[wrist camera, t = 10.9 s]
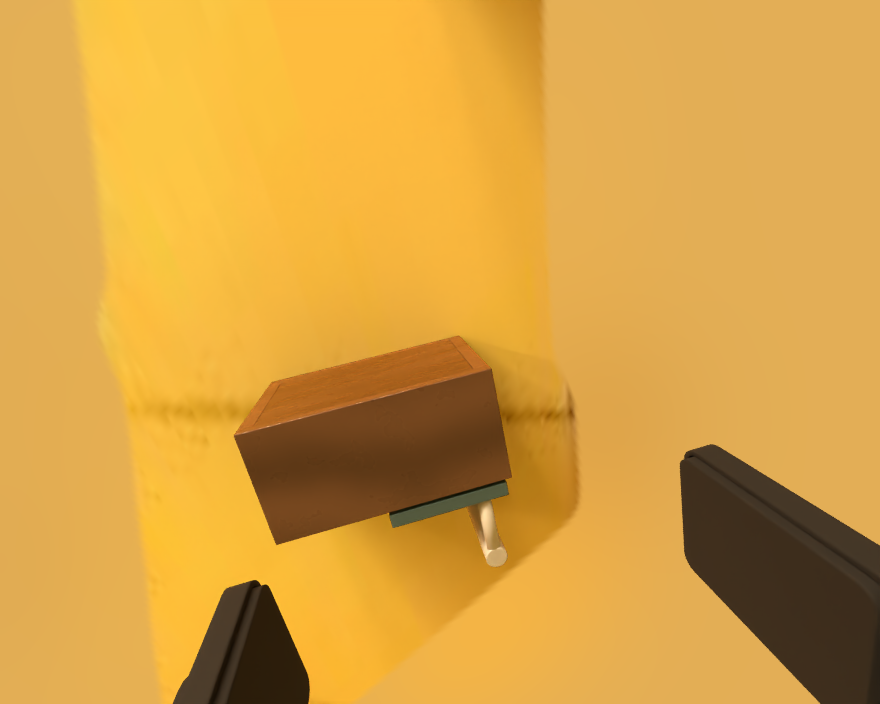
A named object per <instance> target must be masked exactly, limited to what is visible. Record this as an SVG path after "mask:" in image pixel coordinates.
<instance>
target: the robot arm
mask: <svg viewBox="0 0 880 704" xmlns="http://www.w3.org/2000/svg"><path fill="white" fill-rule="evenodd" d="M680 476H681V477H680V478H681V495H682V515H683V534H684V552H685V556H686V559H687V561H688V563H689V565H690V567H691V568H692V569H693V570H694V572H695V573H696V574H697V575H698V576H699V577H700V578H701V579H702V580H703V581H704V582H705V583H706V584H707V585H708V586H709V587H710V588H711V589H712V590H713V591H714V593H715V594H716V595H717V596H718V597H719V598H720V599H721V600H722V601H723V602H724V603H725V604H726V605H727V606H728V607H729V608H730V609H731V610H732V611H733V613H734V614H735V615H736V616H737V617H738V618H739V619H740V620H741V621H742V622H743V623H744V624H745V625H746V626H747V627H748V628H749V629H750V630H751V631H752V632H753V633H754V634H755V636H756V637H758V639H759V640H760V641H761V642H762V643H763V644H764V645H765V646H766V647H767V648H768V649H769V650H770V651H771V652H772V653H773V654H774V655H775V656H776V657H777V658H778V660H780V662H781V663H782V664H783V665H784V666H785V667H786V668H787V669H788V670H789V671H790V672H791V673H792V674H793V675H794V676H795V677H796V678H797V680H799V682H800V683H801V684H802V685H803V686H804V687H805V688H806V689H807V690H808V691H809V692H810V693H811V694H812V695H813V696H814V697H815V698H816V699H817V700H818V701H819V702H820V704H880V546H879V545H878V544H876V543H875V542H873V541H871V540H870V539H868V538H866V537H865V536H863V535H862V534H860V533H858V532H857V531H855V530H853V529H852V528H850V527H849V526H847V525H845V524H844V523H842V522H840V521H839V520H837V519H836V518H834V517H832V516H831V515H829V514H827V513H826V512H824V511H823V510H821V509H819V508H818V507H816V506H814V505H813V504H811V503H809V502H808V501H806V500H805V499H803V498H801V497H800V496H798V495H797V494H795V493H793V492H791V491H790V490H788V489H787V488H785V487H784V486H782V485H780V484H779V483H777V482H775V481H774V480H772V479H770V478H769V477H767V476H766V475H764V474H762V473H761V472H759V471H757V470H756V469H754V468H753V467H751V466H749V465H748V464H746V463H745V462H743V461H741V460H740V459H738V458H736V457H735V456H733V455H731V454H730V453H728V452H727V451H725V450H723V449H722V448H720V447H718V446H716V445H711V444H710V445H707V446H704V447H700V448H697V449H693V450H690V451H688V452H686V454H685V456H684V460H682V461H681V462H680ZM309 692H310V686H309V678H308V674H307V672H306V669H305V667H304V665H303V663H302V660H301V658H300V656H299V653H298V651H297V649H296V647H295V644H294V642H293V640H292V638H291V635H290V633H289V631H288V628H287V626H286V624H285V622H284V619H283V617H282V615H281V613H280V610H279V608H278V606H277V603H276V601H275V599H274V597H273V594H272V592H271V590H270V588H269V586H268V585H262V586H261V585H260V583H259V582H258V581H257V580H253V581H249V582H246V583H243V584H239V585H236V586H232V587H229V588H227V589H226V590H225V591H224V592H223V594H222V596H221V599H220V601H219V603H218V606H217V608H216V611H215V613H214V616H213V618H212V620H211V623H210V625H209V628H208V630H207V633H206V635H205V637H204V640H203V642H202V645H201V647H200V650H199V652H198V654H197V657H196V659H195V662H194V664H193V667H192V669H191V671H190V674H189V676H188V677H187V678H186V679H185V680H184V681H183V683H182V685H181V687H180V688H179V690H178V692H177V695H176V697H175V699H174V702H173V704H308V702H309Z"/></svg>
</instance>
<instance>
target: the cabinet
mask: <svg viewBox="0 0 880 704" xmlns="http://www.w3.org/2000/svg"><path fill="white" fill-rule="evenodd" d="M234 438H235V440H236V443H237V445H238V448H239V450H240V453H241V456H242V458H243V461H244V463H245V466H246V468H247V471H248V474H249V476H250V479H251V481H252V484H253V486H254V489H255V492H256V494H257V497H258V499H259V502H260V504H261V507H262V510H263V512H264V515H265V517H266V520H267V522H268V525H269V528H270V530H271V533H272V535H273V538H274V540H275V543H276V545H278V544H281V543H285V542H288V541H292V540H295V539H299V538H302V537H306V536H309V535H313V534H316V533H320V532H323V531H327V530H330V529H334V528H337V527H341V526H344V525H348V524H351V523H355V522H358V521H362V520H365V519H368V518H372V517H375V516H379V515H382V514H386V513H389V512H393V511H396V510H400V509H403V508H407V507H410V506H414V505H417V504H421V503H424V502H428V501H431V500H435V499H438V498H442V497H445V496H449V495H452V494H456V493H459V492H463V491H466V490H470V489H473V488H476V487H480V486H483V485H487V484H490V483H494V482H497V481H501V480H504V479H508V478H511V477H512V475H511V470H510V464H509V459H508V454H507V448H506V443H505V438H504V433H503V427H502V422H501V417H500V411H499V406H498V401H497V395H496V390H495V385H494V379H493V374H492V369H491V368H490V367H489V366H488V365H487V364H486V363H485V362H484V361H483V360H482V359H481V358H480V357H479V356H478V355H477V354H476V353H475V352H474V351H473V350H472V348H471V347H470V346H469V345H468V344H467V343H466V342H465V341H464V340H463V339H462V338H461V337H460V336H456V337H452V338H448V339H444V340H440V341H436V342H432V343H428V344H423V345H419V346H415V347H411V348H407V349H403V350H399V351H395V352H391V353H387V354H383V355H379V356H375V357H371V358H367V359H363V360H359V361H355V362H351V363H347V364H343V365H339V366H335V367H331V368H327V369H323V370H319V371H315V372H311V373H307V374H303V375H299V376H295V377H291V378H287V379H283V380H279V381H275V382H272V383H271V384H270V385H269V387H268V388H267V389H266V391H265V392H264V394H263V395H262V396H261V398H260V399H259V401H258V402H257V403H256V405H255V406H254V408H253V409H252V410H251V412H250V413H249V415H248V416H247V418H246V419H245V420H244V422H243V423H242V425H241V426H240V427H239V429H238V430H237V432H236V433H235V434H234Z"/></svg>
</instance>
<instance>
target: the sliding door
mask: <svg viewBox="0 0 880 704" xmlns="http://www.w3.org/2000/svg"><path fill="white" fill-rule="evenodd" d="M508 494H509V492H508V487H507V482H506V481H505V479H504V480H501V481H497V482H494V483H490V484H487V485H483V486H480V487H476V488H473V489H470V490H466V491H463V492H459V493H456V494H452V495H449V496H445V497H442V498H438V499H435V500H431V501H428V502H424V503H421V504H417V505H414V506H410V507H407V508H403V509H400V510H396V511H393V512H389V516H390V520H391V523H392V526H393V528H395V527H399V526H402V525H405V524H409V523H412V522H416V521H419V520H423V519H426V518H430V517H433V516H436V515H440V514H443V513H447V512H450V511H454V510H457V509H460V508H464V507H467V509H468V512H469V515H470V518H471V520H472V523H473V526H474V528H475V531H476V534H477V537H478V539H479V542H480V545H481V548H482V550H483V553H484V556H485V558H486V561H487V563H488V564H489V565H490V566H492V567H499V566H501V565H503V564H504V563H505V562H506V560H507V557H508V555H507V552H506V550H505V547H504V545H503V543H502V541H501V538H500V536H499V534H498V531H497V526H496V521H495V516H494V511H493V507H492V502H491V499H495V498H498V497H502V496H505V495H508Z"/></svg>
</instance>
